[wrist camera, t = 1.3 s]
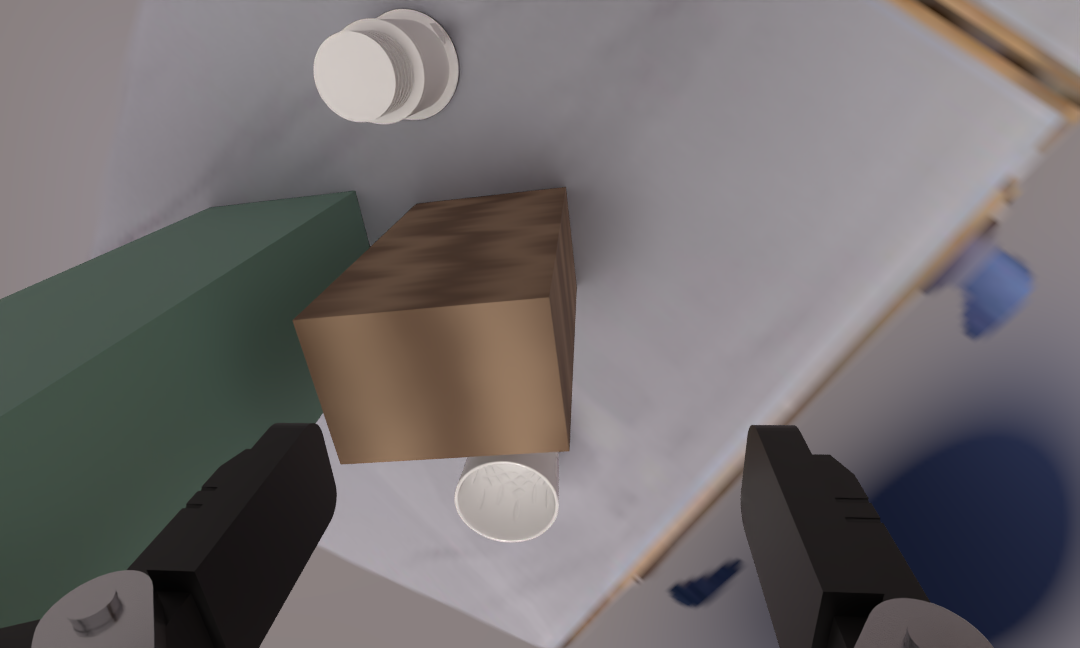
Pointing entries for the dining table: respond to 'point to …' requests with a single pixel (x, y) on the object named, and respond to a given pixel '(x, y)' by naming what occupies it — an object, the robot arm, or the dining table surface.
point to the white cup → (509, 495)
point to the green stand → (152, 382)
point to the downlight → (387, 68)
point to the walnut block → (451, 334)
